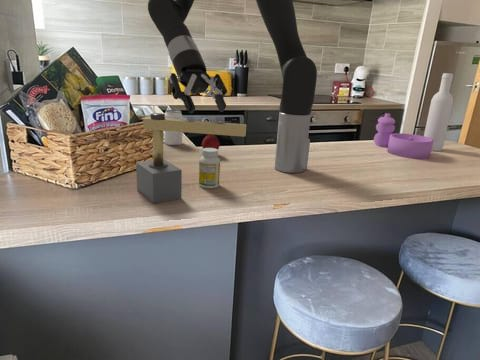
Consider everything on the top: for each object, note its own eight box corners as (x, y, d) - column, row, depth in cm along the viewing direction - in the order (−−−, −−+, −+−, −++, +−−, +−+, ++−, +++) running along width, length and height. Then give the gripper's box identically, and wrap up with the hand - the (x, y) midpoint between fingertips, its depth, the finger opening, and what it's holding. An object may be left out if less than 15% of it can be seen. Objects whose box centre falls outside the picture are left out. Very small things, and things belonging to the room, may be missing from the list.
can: (184, 142, 144) (184, 110, 140) (179, 146, 138) (180, 113, 134) (167, 141, 145) (167, 109, 141) (162, 144, 138) (162, 111, 135)
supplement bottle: (209, 190, 96) (210, 153, 93) (194, 185, 99) (194, 149, 96) (223, 185, 100) (225, 150, 97) (208, 180, 103) (209, 146, 100)
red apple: (222, 154, 130) (223, 131, 127) (213, 158, 125) (214, 134, 122) (207, 152, 132) (207, 129, 129) (198, 155, 127) (199, 132, 124)
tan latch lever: (243, 170, 89) (246, 119, 85) (242, 174, 86) (245, 121, 82) (148, 162, 91) (147, 112, 87) (143, 166, 88) (142, 114, 84)
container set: (438, 157, 143) (446, 122, 139) (409, 160, 137) (416, 123, 133) (389, 142, 165) (394, 112, 160) (361, 144, 158) (366, 112, 154)
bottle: (426, 145, 162) (442, 72, 152) (445, 150, 156) (463, 74, 147) (417, 148, 157) (433, 72, 147) (436, 152, 151) (454, 74, 142)
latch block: (163, 185, 97) (163, 158, 95) (181, 198, 90) (181, 169, 87) (137, 189, 93) (136, 161, 91) (153, 203, 86) (152, 172, 83)
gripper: (165, 46, 90) (187, 101, 85) (215, 49, 98) (239, 100, 93) (156, 68, 96) (176, 121, 91) (204, 69, 104) (226, 118, 99)
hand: (208, 110), depth 92 cm, fingers open, 8 cm apart
